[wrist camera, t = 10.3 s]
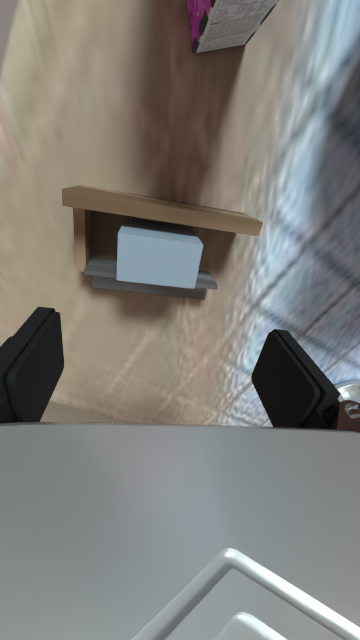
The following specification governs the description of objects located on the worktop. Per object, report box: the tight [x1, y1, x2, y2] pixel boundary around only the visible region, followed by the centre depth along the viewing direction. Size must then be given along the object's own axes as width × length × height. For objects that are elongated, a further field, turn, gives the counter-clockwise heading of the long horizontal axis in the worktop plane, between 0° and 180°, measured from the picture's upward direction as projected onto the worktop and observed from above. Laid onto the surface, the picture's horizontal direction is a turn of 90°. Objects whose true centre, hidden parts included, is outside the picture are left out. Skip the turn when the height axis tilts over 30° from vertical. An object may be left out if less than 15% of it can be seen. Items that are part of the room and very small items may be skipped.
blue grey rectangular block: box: [116, 217, 203, 289], centre depth 25 cm, size 4×7×8 cm, turn 81°
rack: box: [62, 185, 263, 300], centre depth 26 cm, size 11×17×6 cm, turn 81°
